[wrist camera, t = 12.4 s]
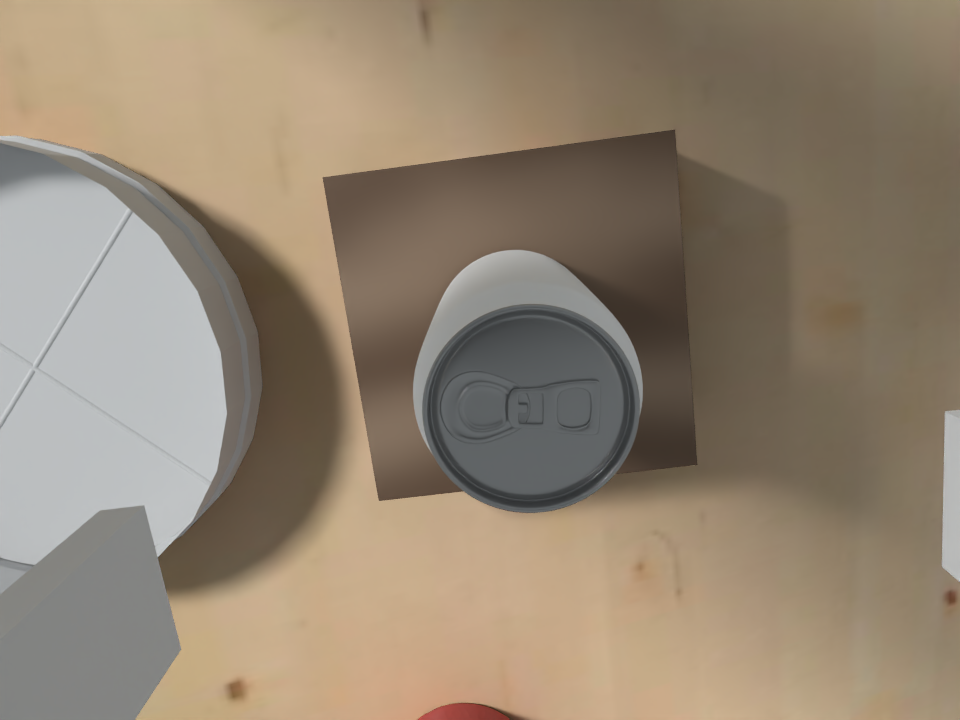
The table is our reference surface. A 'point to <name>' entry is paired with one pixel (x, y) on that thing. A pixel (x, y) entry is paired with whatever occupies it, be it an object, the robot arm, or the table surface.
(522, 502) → the can
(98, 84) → the table surface
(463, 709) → the flower pot
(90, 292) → the dish
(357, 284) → the walnut base
